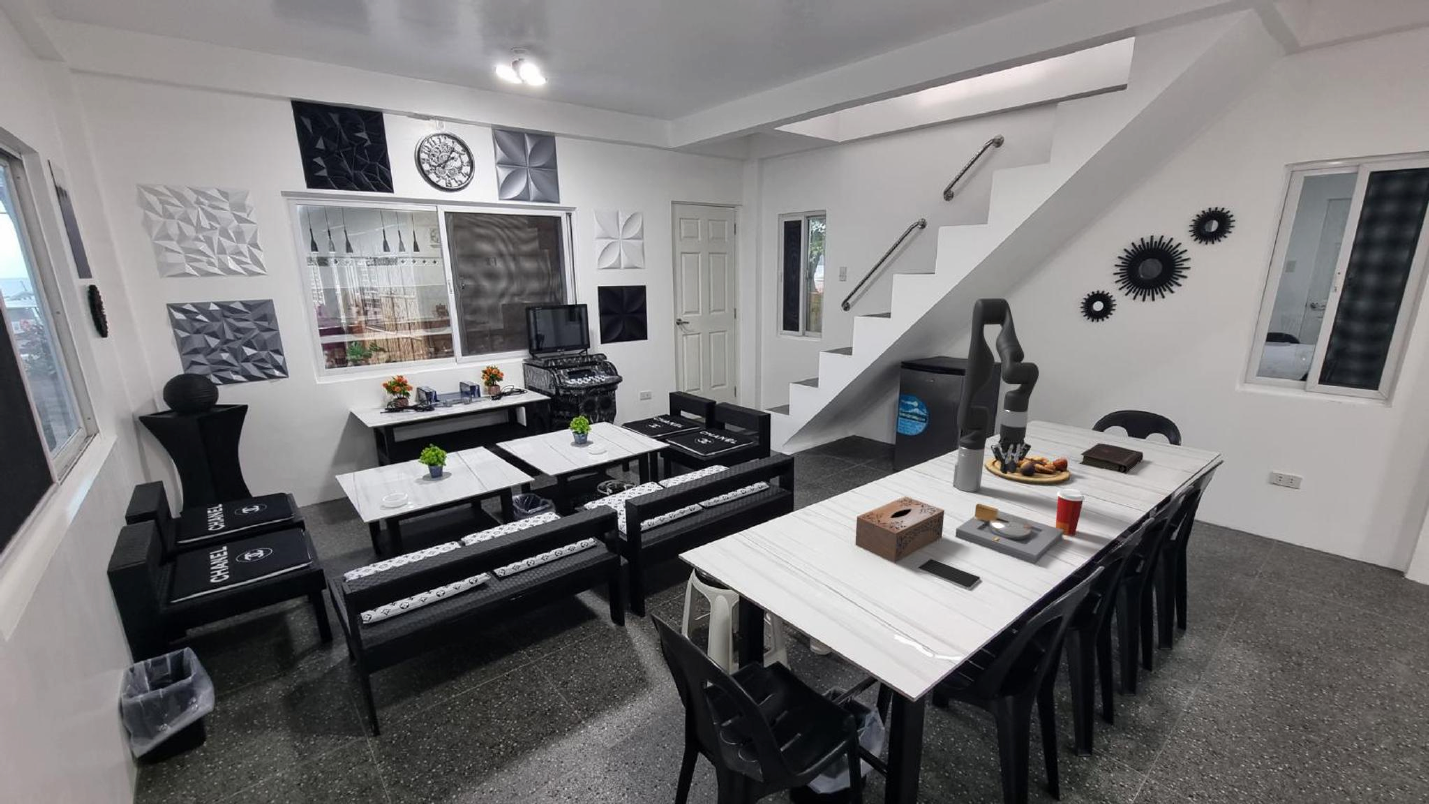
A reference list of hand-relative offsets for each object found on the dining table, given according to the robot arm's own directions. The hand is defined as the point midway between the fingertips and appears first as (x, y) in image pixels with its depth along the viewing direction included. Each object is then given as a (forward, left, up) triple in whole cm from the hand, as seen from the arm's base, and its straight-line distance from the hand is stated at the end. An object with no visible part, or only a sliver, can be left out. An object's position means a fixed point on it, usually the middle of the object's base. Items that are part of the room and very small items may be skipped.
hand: (1007, 472), depth 188 cm
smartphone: (+3, -43, -20) cm, 48 cm away
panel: (+5, -7, -19) cm, 21 cm away
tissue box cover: (-18, -35, -20) cm, 44 cm away
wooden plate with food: (-14, +61, -20) cm, 65 cm away
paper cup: (+16, +11, -19) cm, 27 cm away
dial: (+3, -7, -17) cm, 19 cm away
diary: (+7, +100, -20) cm, 102 cm away
